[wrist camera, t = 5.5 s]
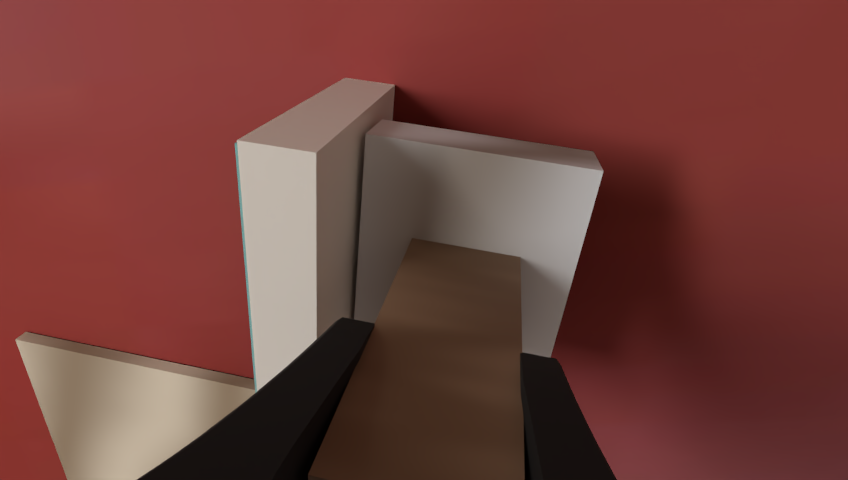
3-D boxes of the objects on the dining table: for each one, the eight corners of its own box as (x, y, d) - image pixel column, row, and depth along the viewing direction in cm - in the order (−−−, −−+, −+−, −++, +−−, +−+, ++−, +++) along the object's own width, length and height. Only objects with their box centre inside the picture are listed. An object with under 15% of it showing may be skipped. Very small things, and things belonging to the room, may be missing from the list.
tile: (395, 84, 14) (315, 152, 8) (379, 295, 17) (316, 439, 12) (342, 76, 14) (231, 139, 8) (337, 288, 17) (256, 426, 12)
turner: (593, 151, 12) (720, 393, 4) (530, 383, 15) (545, 746, 7) (382, 119, 12) (188, 289, 5) (364, 350, 15) (229, 661, 8)
